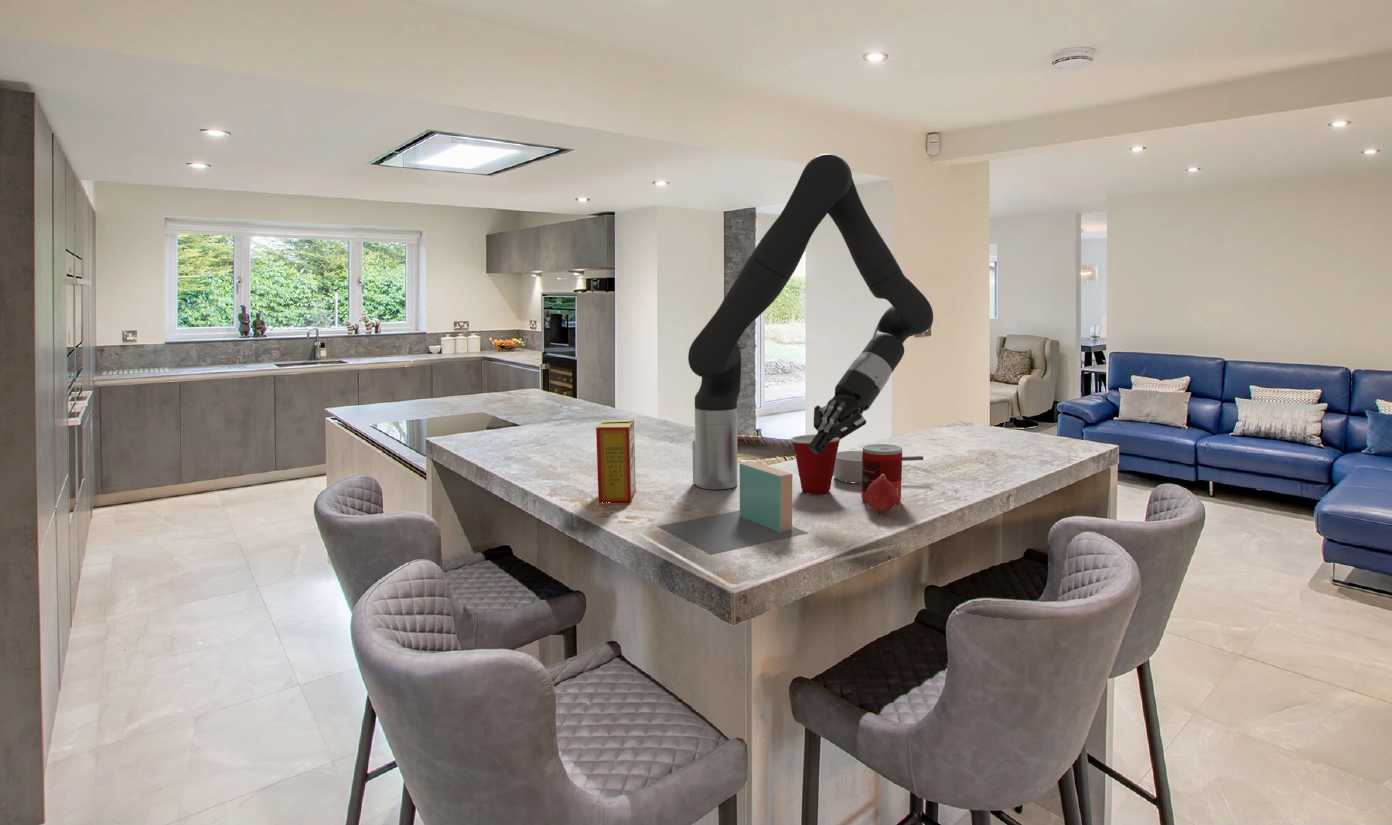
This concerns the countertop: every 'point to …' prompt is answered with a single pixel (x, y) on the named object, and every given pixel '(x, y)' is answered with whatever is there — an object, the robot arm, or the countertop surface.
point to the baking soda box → (616, 461)
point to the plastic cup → (815, 464)
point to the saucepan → (855, 465)
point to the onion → (881, 495)
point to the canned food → (881, 466)
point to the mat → (725, 532)
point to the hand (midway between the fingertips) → (814, 451)
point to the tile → (766, 496)
